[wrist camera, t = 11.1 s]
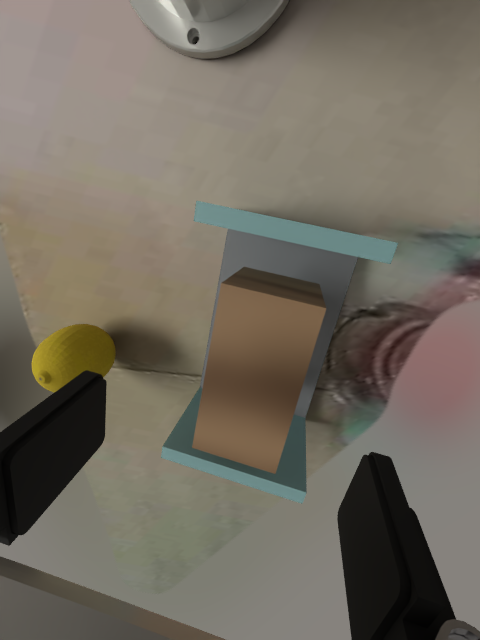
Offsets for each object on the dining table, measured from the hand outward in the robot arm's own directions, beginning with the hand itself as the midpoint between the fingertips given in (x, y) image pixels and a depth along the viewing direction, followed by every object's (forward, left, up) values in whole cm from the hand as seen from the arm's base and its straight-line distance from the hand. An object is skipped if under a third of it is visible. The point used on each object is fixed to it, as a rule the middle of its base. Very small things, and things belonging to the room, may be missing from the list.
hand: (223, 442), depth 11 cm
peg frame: (+1, 0, -16) cm, 16 cm away
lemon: (+7, -15, -16) cm, 23 cm away
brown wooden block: (+1, 0, -11) cm, 11 cm away
